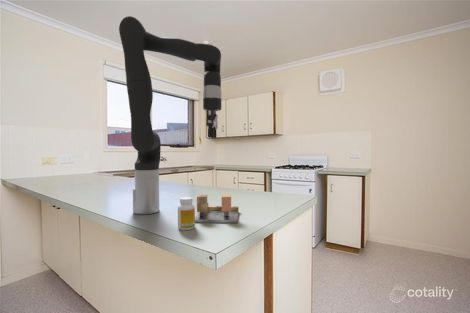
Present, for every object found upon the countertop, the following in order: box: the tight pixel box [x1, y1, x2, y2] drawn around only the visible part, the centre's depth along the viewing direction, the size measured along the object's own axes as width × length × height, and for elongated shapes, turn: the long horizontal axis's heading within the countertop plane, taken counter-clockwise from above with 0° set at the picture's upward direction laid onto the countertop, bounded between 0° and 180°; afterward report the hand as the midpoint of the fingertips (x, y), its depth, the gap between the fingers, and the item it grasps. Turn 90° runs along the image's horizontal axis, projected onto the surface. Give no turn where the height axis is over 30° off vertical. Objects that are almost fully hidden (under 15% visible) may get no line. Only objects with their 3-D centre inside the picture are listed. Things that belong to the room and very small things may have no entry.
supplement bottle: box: [177, 196, 196, 231], centre depth 76 cm, size 5×5×10 cm
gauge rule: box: [196, 194, 239, 216], centre depth 89 cm, size 15×11×8 cm
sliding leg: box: [221, 194, 232, 216], centre depth 86 cm, size 3×4×7 cm
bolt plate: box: [195, 211, 239, 224], centre depth 87 cm, size 15×11×1 cm
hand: (212, 137), depth 97 cm, fingers open, 8 cm apart
